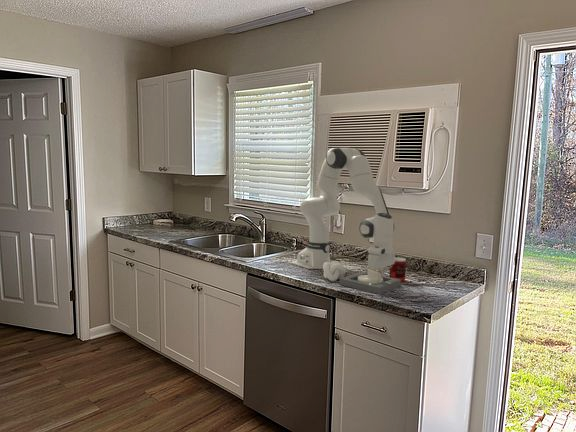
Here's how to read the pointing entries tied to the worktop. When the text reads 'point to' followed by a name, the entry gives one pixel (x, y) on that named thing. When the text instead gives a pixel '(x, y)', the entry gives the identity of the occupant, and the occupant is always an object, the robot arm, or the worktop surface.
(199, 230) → the worktop surface
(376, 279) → the dial
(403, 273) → the canned food
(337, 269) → the white decorative knot
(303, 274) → the worktop surface
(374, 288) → the panel
